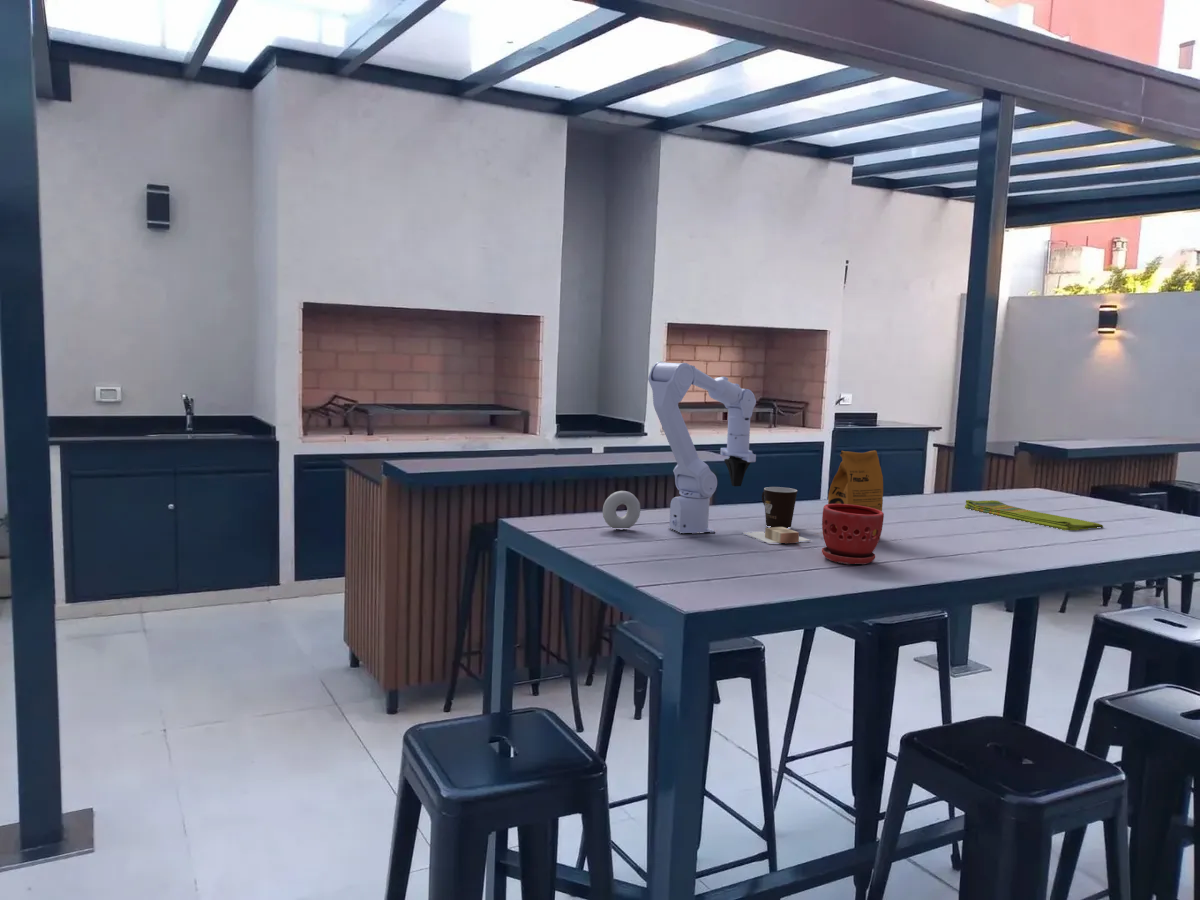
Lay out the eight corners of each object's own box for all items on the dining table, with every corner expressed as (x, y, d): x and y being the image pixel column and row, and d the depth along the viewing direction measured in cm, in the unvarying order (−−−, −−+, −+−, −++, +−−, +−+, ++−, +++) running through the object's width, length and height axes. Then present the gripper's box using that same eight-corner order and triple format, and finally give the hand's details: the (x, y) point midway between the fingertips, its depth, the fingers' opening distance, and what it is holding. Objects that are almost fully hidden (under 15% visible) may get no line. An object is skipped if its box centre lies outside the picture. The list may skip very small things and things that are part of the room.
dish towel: (998, 507, 288) (999, 497, 288) (1104, 529, 256) (1105, 518, 256) (962, 510, 281) (963, 499, 281) (1067, 533, 250) (1068, 521, 249)
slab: (764, 537, 226) (780, 543, 220) (765, 527, 226) (781, 533, 219) (782, 536, 228) (798, 542, 222) (782, 526, 228) (799, 532, 221)
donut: (636, 528, 234) (638, 489, 233) (641, 530, 231) (643, 491, 230) (599, 529, 231) (601, 490, 230) (604, 532, 228) (606, 492, 226)
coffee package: (820, 534, 234) (825, 448, 232) (861, 532, 238) (866, 448, 236) (842, 542, 225) (848, 453, 222) (885, 540, 229) (891, 452, 227)
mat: (768, 544, 220) (768, 542, 220) (742, 534, 231) (742, 532, 231) (810, 541, 224) (810, 540, 224) (782, 531, 235) (782, 530, 235)
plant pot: (839, 568, 198) (842, 514, 196) (809, 554, 210) (812, 503, 209) (892, 566, 201) (896, 512, 200) (859, 553, 214) (862, 502, 213)
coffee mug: (798, 531, 237) (800, 492, 236) (764, 530, 237) (766, 491, 236) (789, 522, 249) (791, 485, 248) (757, 521, 249) (759, 484, 248)
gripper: (766, 437, 235) (764, 489, 236) (737, 431, 248) (735, 480, 250) (743, 437, 232) (740, 490, 234) (714, 431, 245) (712, 482, 247)
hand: (736, 485), depth 241 cm, fingers closed
